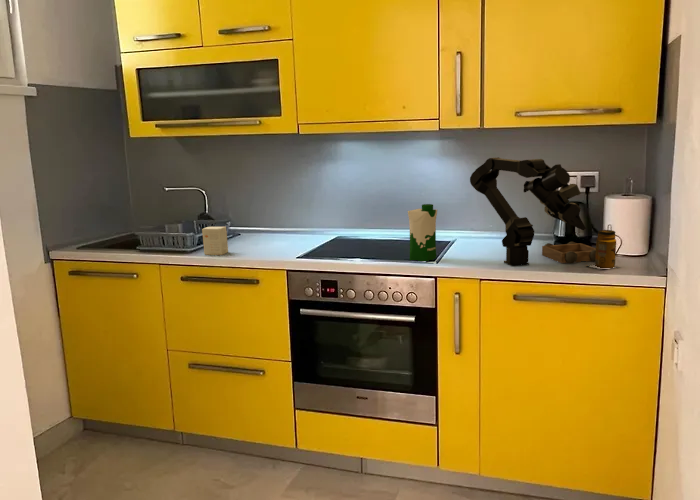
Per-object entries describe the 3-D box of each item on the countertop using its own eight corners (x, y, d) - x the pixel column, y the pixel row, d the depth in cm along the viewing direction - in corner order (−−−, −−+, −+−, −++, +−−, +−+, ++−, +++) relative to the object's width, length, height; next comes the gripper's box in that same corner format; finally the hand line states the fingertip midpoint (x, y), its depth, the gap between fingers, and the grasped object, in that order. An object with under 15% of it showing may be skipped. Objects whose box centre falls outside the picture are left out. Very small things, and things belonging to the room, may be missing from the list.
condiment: (621, 267, 202) (622, 231, 200) (601, 271, 199) (602, 234, 196) (603, 263, 209) (605, 228, 206) (584, 266, 205) (585, 230, 203)
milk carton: (427, 263, 218) (426, 206, 214) (405, 260, 223) (404, 205, 219) (440, 258, 224) (439, 203, 220) (418, 256, 230) (418, 202, 226)
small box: (228, 252, 250) (226, 226, 247) (222, 255, 244) (220, 228, 242) (210, 251, 252) (208, 226, 250) (203, 254, 246) (201, 228, 244)
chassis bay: (563, 264, 210) (563, 252, 209) (540, 254, 225) (540, 243, 225) (604, 260, 212) (604, 249, 211) (578, 251, 228) (579, 241, 227)
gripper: (575, 178, 189) (609, 212, 191) (555, 173, 207) (586, 205, 209) (548, 204, 190) (583, 239, 192) (530, 197, 208) (562, 229, 211)
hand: (579, 226), depth 201 cm, fingers open, 9 cm apart
